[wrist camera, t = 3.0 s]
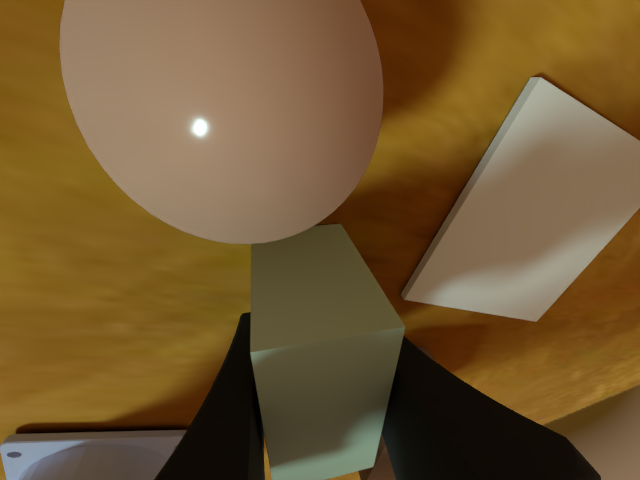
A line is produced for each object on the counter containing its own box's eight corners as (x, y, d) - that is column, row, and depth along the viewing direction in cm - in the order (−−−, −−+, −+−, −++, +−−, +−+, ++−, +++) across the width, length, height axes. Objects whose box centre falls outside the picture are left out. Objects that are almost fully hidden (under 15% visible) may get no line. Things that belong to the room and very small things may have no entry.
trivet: (530, 316, 17) (536, 321, 17) (400, 294, 14) (404, 299, 13) (667, 163, 13) (678, 165, 13) (530, 77, 10) (540, 77, 9)
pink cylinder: (294, 186, 10) (325, 262, 6) (159, 146, 8) (65, 211, 4) (340, 49, 8) (434, 12, 4) (179, -33, 7) (50, -231, 2)
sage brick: (334, 343, 14) (373, 466, 10) (267, 354, 14) (274, 492, 9) (340, 223, 11) (405, 326, 6) (251, 231, 10) (250, 352, 6)
